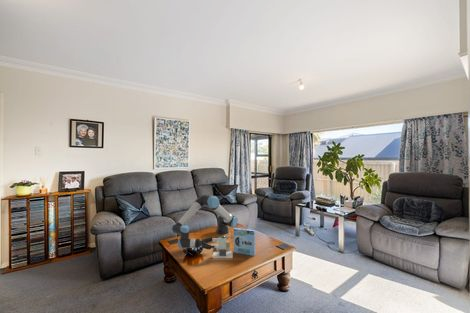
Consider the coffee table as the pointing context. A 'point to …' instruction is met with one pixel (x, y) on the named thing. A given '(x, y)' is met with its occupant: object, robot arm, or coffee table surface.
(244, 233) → the gum box
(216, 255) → the board
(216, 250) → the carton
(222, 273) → the coffee table surface
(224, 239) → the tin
